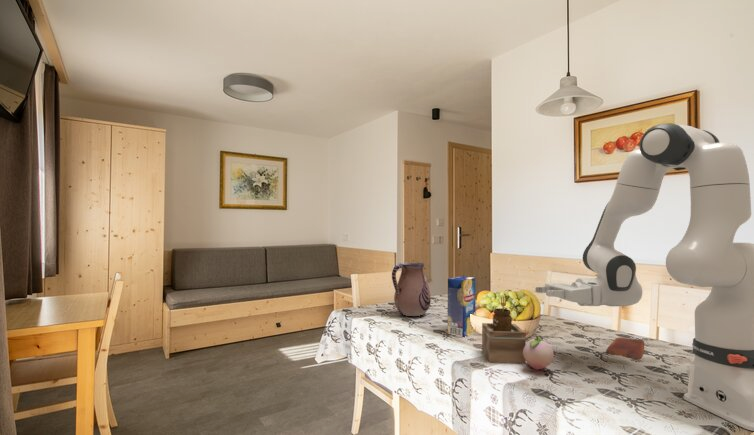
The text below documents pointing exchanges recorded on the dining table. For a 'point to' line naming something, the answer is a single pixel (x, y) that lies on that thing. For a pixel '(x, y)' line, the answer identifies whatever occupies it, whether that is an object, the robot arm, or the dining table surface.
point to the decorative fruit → (538, 353)
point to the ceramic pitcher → (411, 289)
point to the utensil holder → (502, 318)
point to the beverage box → (460, 305)
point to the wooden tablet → (626, 348)
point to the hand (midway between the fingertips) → (541, 291)
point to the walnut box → (503, 344)
